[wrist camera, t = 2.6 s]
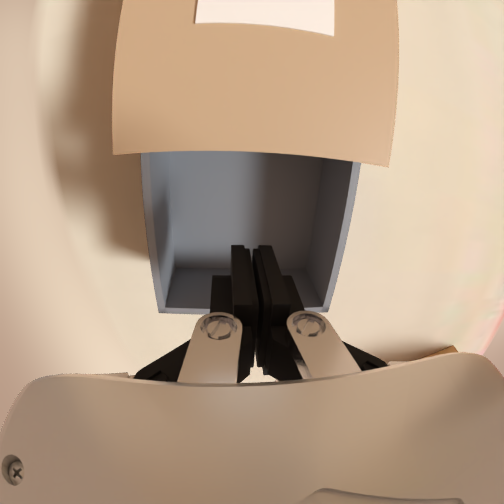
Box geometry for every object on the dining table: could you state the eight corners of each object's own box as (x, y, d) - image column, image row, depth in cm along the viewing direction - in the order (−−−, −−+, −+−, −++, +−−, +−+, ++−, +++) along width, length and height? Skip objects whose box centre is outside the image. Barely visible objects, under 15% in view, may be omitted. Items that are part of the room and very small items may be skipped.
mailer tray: (169, 34, 11) (149, 8, 7) (335, 45, 11) (370, 28, 8) (171, 269, 18) (158, 312, 14) (309, 270, 19) (328, 312, 15)
